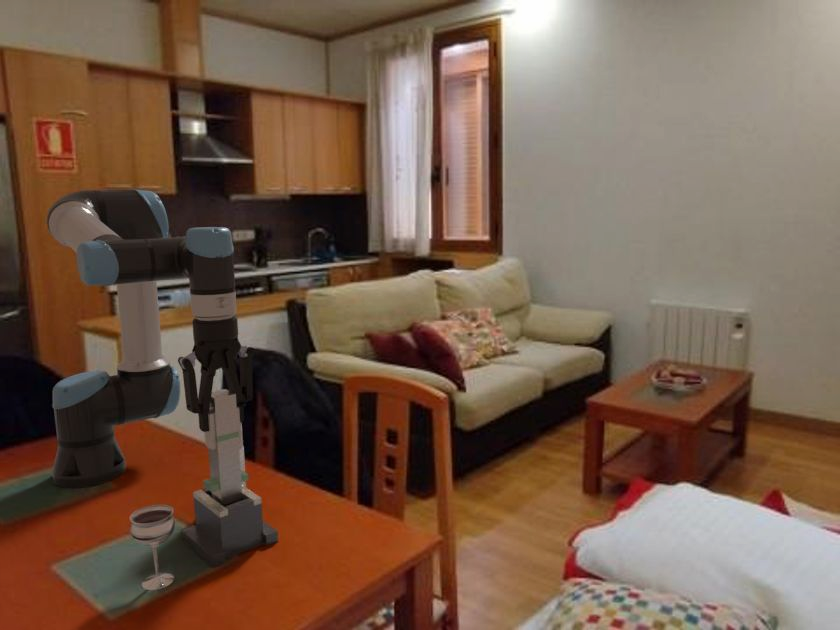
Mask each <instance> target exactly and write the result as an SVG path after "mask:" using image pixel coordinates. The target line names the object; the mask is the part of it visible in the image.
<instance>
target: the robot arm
mask: <svg viewBox="0 0 840 630" xmlns="http://www.w3.org/2000/svg"><path fill="white" fill-rule="evenodd" d="M46 227H47V230H48V232H49V233H50V235H51V237H52V238H54V239H55V240H56V241H57V242H58V243H59V244H61V245H63V246H65V247H69V248H70V249H71V250H73V252H74V253H76V263H77V264H76V265H77V266H76V267H77V270H78V271H77V272H78V275H79V277H80V280H81V282H82V283H83V284H84V285H86V286H89V287H91V286H103V287H109V286H112V285H113V286H114V285H115V286H116V293H117V302H118V303H117V305H118V317H119V325H120V338H121V345H122V347H121V348H122V360H121V361H120V362H119V363H118V364H117V366H116V370H117V371H116V372H117V374H115V375H110V374H109V372H107V371H105V370H93V371H92V370H90V371H84V372H81V373H77V374H73V375H71V376H68V377H65V378H63V379H61V380H60V381H58V382H57V383H56V384H55V385H54V387H53V388H52V405H51V407H52V408H53V412H54V413H53V414H54V422H55V430H56V439H57V450H56V451H57V452H56V454H55V458H54V463H53V467H52V470H51V471H52V473H51V474H52V475H51V476H52V483H53V484H54V485H56V486H58V487H61V488H67V489H68V488H69V489H75V488H86V487H93V486H97V485H100V484H104V483H106V482H110V481H112V480H114V479H116V478H119V476H122V475H123V473H125V471H126V469H127V464H126V458H125V455H124V454H123V451H122V450H121V447H120V445H119V444H118V441H117V440H116V437H115V436H116V435H115V427H116V426H120V425H125V424H131V423H134V422H140V421H145V420H151V419H157V418H160V417H162V416H166V415H170V414H172V413H174V412H175V410H176V409H177V407H178V405H179V402H180V397H181V380H180V375H179V372H178V369H177V368H176V367H175V366H172V365H170V364H171V362H170V360H169V359H168V358H167V357H166V356H164V355H163V348H162V347H163V345H162V335H161V334H162V333H161V332H162V331H161V321H160V307H159V299H158V298H159V296H158V285H157V282H158V281H160V282H161V281H170V280H182V279H183V280H184V279H185V280H186V279H188V281H189V292H190V293H189V294H190V295H189V296H190V308H191V316H193V317H194V318H193V320H192V324H191V325H192V334H193V335H192V336H193V342H194V345H193V347H192V350H191V353H189V354H187V355H185V356H179V357H178V359H177V362H178V364H179V366H180V369H181V370H182V371H181V372H182V378H183V387H184V397H185V403H186V404H185V406H186V410H187V411H189V412H190V413H192V414H197V415H198V426H199V427H198V428H199V429H200V431H201V432H203V433H204V440H205V441H204V442H205V443H204V444H205V446H206V447H207V449H208V448H210V449H211V450H214V449H216V440H215V424H214V414H213V413H211V412H210V411H209V409H210V402H211V394H212V392H213V386H214V385H213V384H214V379H215V376H216V374H217V371H218V370H219V369H221V370H222V371H223V374H224V377H225V381H226V384H227V390H228V391H231V392H233V393H235V394H236V405H237V421H238V431H239V442H241V429H240V423H241V422H242V423H244V421H245V414H244V413H245V412H244V408H245V407H246V406H247V402H249V401H250V402H251V401H253V398H254V386H253V385H254V384H253V383H254V381H253V378H254V377H253V358H254V355H255V347H252V346H248V345H241V342H240V341H239V323H238V317H237V316H236V313H237V312H238V309H237V295H236V293H237V292H236V278H235V276H236V274H235V262H234V261H235V258H234V252H235V247H234V245H233V237H232V232H231V230H230V228H227V227H224V226H219V227H218V226H207V227H205V226H202V227H201V226H200V227H199V226H198V227H191V228H188V230H186V234H185V235H179V236H177V235H176V237H169V230H170V229H169V228H170V225H169V219H168V215H167V211H166V208H165V206H164V204H163V202H162V200H161V198H160V196H159V195H158V194H157V193H155V192H153V191H151V190H142V189H97V190H96V189H82V190H77V191H73V192H69V193H67V194H65V195H63V196H61V197H59V198H58V199H57V200H56V201H54V202H53V203H52V205H51V206H50V207H49V209H48V211H47V214H46ZM237 356H239V375H240V376H239V378H240V380H239V379H238V375H237V366H236V363H235V359H236V358H237ZM196 360H197V362H199V363H200V374H201V375H200V382H199V389H198V387H197V385H198V384H197V379H196V378H197V377H196V370H195V366H196Z"/></svg>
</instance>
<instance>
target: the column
mask: <svg viewBox="0 0 840 630" xmlns="http://www.w3.org/2000/svg"><path fill="white" fill-rule="evenodd" d="M223 389H224V388H223ZM219 390H220V391H218V390H216V391H212V394H211V402H210V409H209V411H210V412H211V413H213V414H214V424H215V440H216V449H214V450H211V449H210V448H208V447H207V449H208V458H209V459H208V461H209V473H210V476H211V478H206V479H203V480H202V483H203V487H204V488H206V489H208V490H209V491H210V492H212V498H213V499H214V500H216V501H217V502H218V503H220V504H221V505H222V506H223V505H226V504H229V503H232V502H235V501H238V500H241V499H242V484H241V483H242V482H245V481H246V482H248V481H249V473H247V472H246V471H245V472H244V471H242V470H241V468H240V452H239V431H238V421H237V405H236V394H235V393H233V392H231V391H229V389H226V388H225V389H224V390H222V389H219Z"/></svg>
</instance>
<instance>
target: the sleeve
mask: <svg viewBox="0 0 840 630" xmlns="http://www.w3.org/2000/svg"><path fill="white" fill-rule="evenodd" d="M192 498H193V508H194V519H195V523H194V524H195V525H194V524H192V525H189V526H187V527H184V528H181V529H180V533H181V534H180V535H181V540H182V541H183V542H184V543H185V544H186V545H187V546H188V547H190V548H191V549H192V550H193V551H194V553H196V554H197V556H199V557H200V558H201V559H202V560H204V561H205V562H206V563H207V564H208V565H209V566H210V567H211V568H215V567H218V566H220V565H224V564H225V563H226V560H227V559H229V558H232V557H235V556H237V555H240V554H241V553H244V552H247V551H249V550H251V549H254V548H257V547H259V546H261V545H265V546H269V545H272V544H275V543H277V542H279V531H278V530H277V529H275V528H274V527H273V526H271V524H269V523H268V522H266V521H264V520H263V505H262V497H261V496H259V495H258V494H256V493H254V492H253V491H251V490H250V489H249V488H247V486H246V487H244V486H243V485H242V499H241V500H238V501H235V502H232V503H229V504H226V505H223V506H222V505H221V504H220V503H218V502H217V501H216V500H214V499H213V498H212V492H210V491H209V490H208V489H206V488H205V487H204V488H202V489H198V490H195V491H193V492H192Z"/></svg>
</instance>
